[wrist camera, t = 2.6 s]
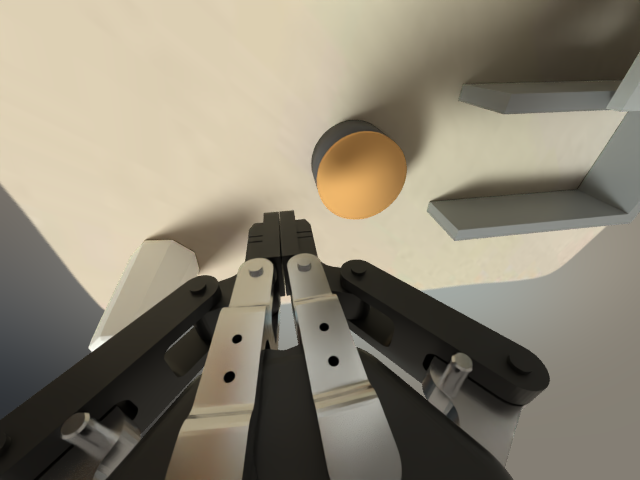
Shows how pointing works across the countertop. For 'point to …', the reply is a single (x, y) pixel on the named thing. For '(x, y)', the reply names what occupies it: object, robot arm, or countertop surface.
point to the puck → (357, 169)
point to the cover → (628, 90)
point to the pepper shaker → (145, 284)
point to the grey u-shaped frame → (560, 206)
